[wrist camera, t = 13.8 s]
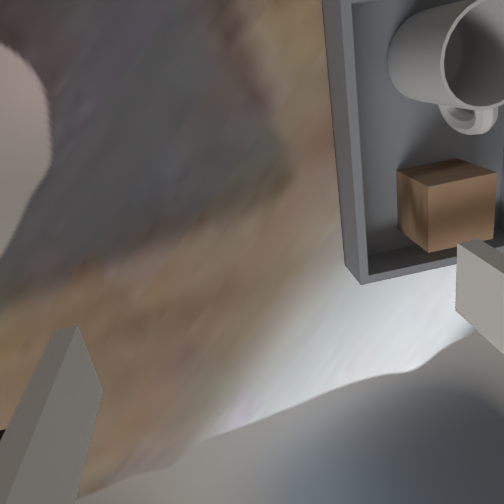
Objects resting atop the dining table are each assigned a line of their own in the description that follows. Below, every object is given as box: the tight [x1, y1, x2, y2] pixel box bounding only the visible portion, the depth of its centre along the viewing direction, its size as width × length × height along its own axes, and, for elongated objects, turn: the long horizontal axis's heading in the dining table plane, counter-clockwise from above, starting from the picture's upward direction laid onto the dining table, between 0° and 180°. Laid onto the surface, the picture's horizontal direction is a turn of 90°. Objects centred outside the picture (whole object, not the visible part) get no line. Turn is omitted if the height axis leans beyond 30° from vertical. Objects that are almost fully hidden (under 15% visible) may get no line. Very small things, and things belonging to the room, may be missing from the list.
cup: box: [387, 0, 504, 135], centre depth 34 cm, size 7×10×9 cm
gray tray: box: [322, 0, 504, 285], centre depth 39 cm, size 24×17×4 cm
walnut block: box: [396, 158, 497, 253], centre depth 40 cm, size 6×6×6 cm
